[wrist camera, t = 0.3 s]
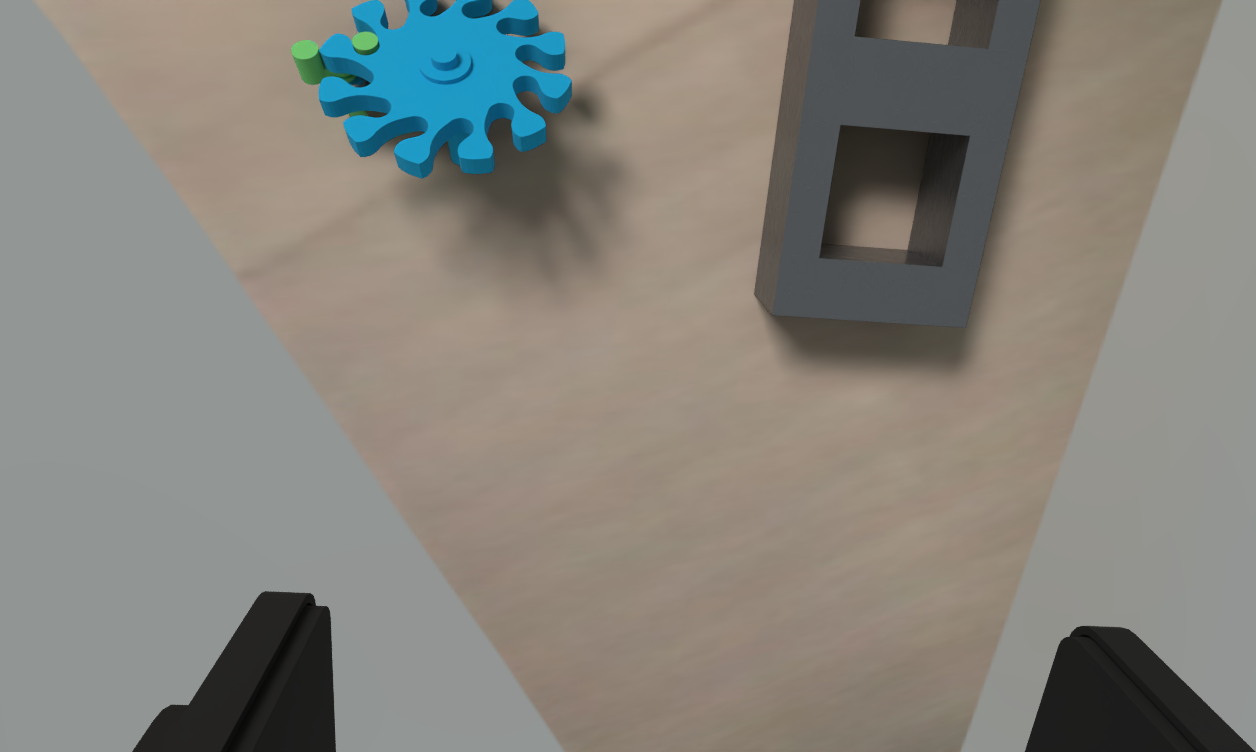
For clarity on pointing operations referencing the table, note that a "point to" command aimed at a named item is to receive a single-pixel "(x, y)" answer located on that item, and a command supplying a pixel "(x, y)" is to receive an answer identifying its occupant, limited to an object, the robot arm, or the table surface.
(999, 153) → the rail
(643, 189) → the table surface
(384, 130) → the gear
